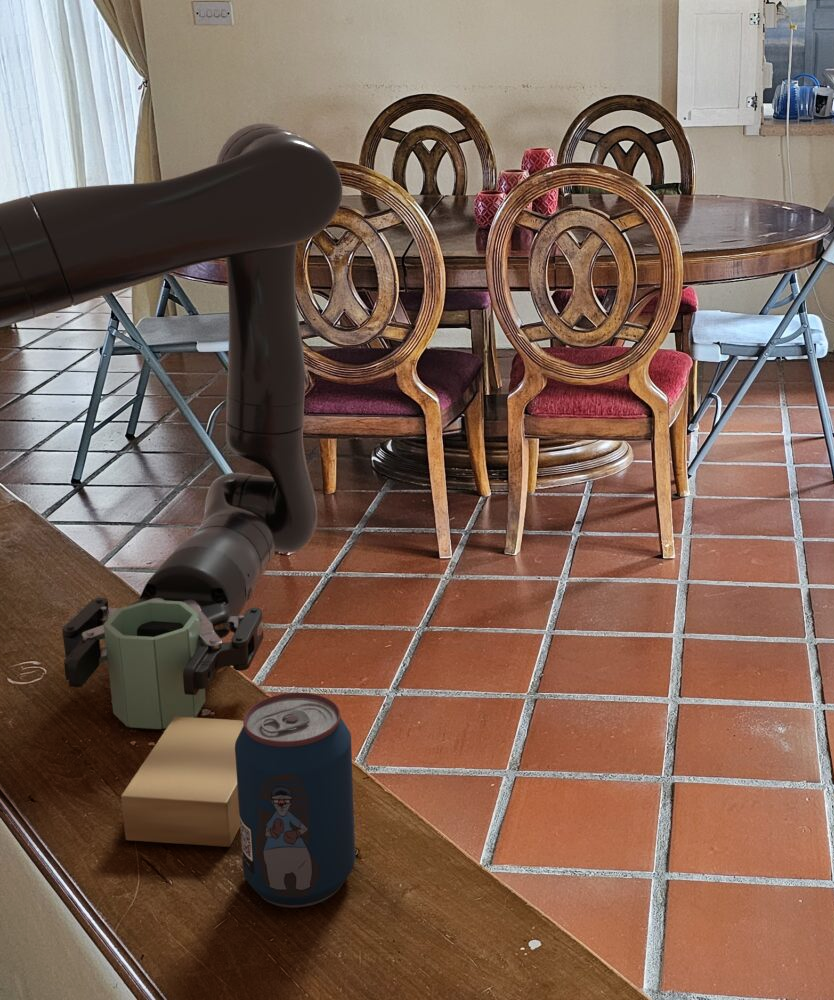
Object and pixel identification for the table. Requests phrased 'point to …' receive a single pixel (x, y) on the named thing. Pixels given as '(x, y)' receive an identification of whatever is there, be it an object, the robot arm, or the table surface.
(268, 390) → the robot arm
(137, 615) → the octagonal tube
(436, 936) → the table surface
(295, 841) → the soda can
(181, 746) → the step
